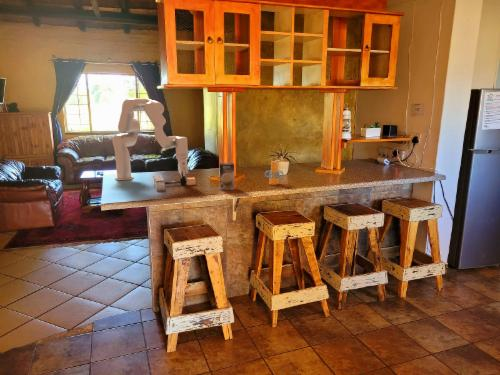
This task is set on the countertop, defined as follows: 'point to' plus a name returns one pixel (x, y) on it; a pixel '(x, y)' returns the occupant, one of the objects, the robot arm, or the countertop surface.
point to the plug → (189, 181)
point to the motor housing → (158, 182)
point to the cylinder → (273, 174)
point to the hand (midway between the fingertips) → (183, 183)
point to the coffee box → (226, 176)
